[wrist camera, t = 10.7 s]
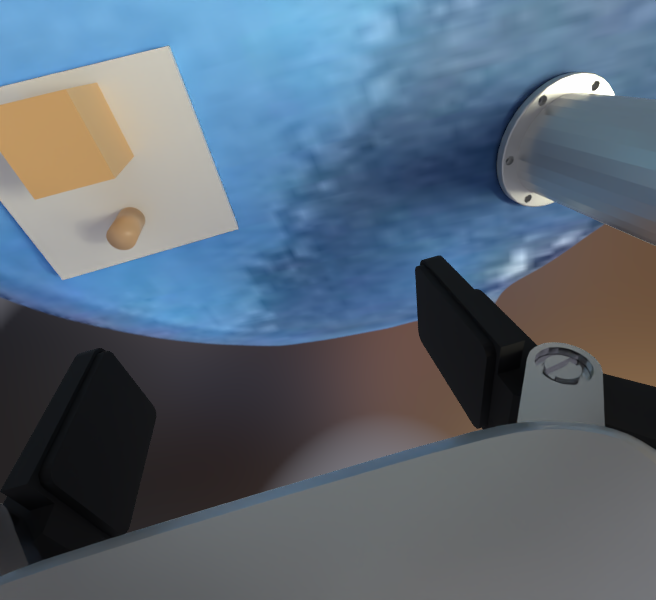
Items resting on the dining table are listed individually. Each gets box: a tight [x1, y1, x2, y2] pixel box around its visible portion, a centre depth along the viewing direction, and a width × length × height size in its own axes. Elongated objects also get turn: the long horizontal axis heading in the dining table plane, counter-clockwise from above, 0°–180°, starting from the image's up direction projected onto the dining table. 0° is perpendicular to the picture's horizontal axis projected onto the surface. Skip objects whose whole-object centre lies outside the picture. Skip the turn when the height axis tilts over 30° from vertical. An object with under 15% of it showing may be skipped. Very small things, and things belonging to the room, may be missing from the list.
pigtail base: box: [0, 46, 238, 280], centre depth 27 cm, size 16×14×5 cm
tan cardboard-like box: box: [0, 83, 134, 200], centre depth 23 cm, size 5×5×6 cm
